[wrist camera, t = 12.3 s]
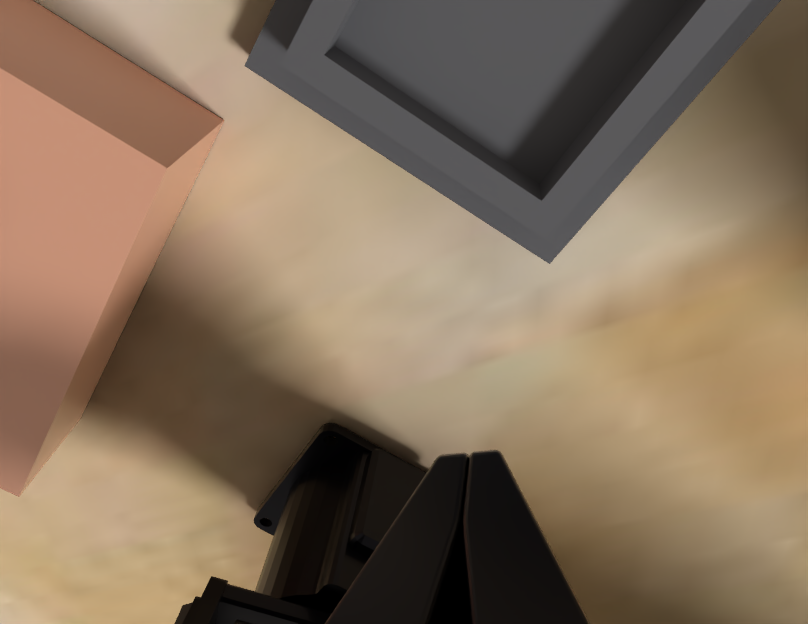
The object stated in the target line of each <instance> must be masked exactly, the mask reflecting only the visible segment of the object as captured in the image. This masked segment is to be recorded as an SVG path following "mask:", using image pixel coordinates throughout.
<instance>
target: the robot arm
mask: <svg viewBox="0 0 808 624" xmlns="http://www.w3.org/2000/svg"><path fill="white" fill-rule="evenodd" d="M328 436H334V437H335V438H336V439H332V438H329V437H328ZM254 523H255V525H256V526H257V527H258V528H260V529H261V530H263V531H265V532H267V533H269V534H271V535H273V536H274V537H273V540H272V543H271V546H270V549H269V552H268V555H267V558H266V560H265V563H264V566H263V569H262V572H261V575H260V578H259V581H258V584H257V587H256V590H255V592H254V591H251V590H247V589H244V588H240V587H237V586H233V585H230V584H227V583H228V581H227V580H223V579H220V578H216V577H212V576H211V578H210V580H209V582H208V584H207V586H206V588H205V590H204V592H203V594H202V597H197V596H196V597H195V599H194V601H193V603H189V604H186V605H183V606H182V608H181V610H180V613H179V615H178V617H177V620H176V622H175V624H590V623H589V621H588V619H587V617H586V615H585V613H584V611H583V609H582V608H581V606H580V604H579V602H578V600H577V598H576V596H575V594H574V592H573V590H572V588H571V586H570V584H569V582H568V580H567V579H566V577H565V575H564V573H563V571H562V569H561V567H560V565H559V563H558V561H557V559H556V557H555V555H554V553H553V552H552V550H551V548H550V546H549V544H548V542H547V540H546V538H545V536H544V534H543V532H542V530H541V528H540V526H539V524H538V523H537V521H536V519H535V517H534V515H533V513H532V511H531V509H530V507H529V505H528V503H527V501H526V499H525V497H524V496H523V494H522V492H521V490H520V488H519V486H518V484H517V482H516V480H515V478H514V476H513V474H512V472H511V470H510V469H509V467H508V465H507V463H506V461H505V459H504V457H503V455H502V453H501V452H500V451H498V450H490V451H479V452H473V453H472V454H471V455H470V457H469V455H468V454H466V453H456V454H445V455H440V456H439V457H437V459H436V460H435V461H434V463H433V464H432V466H431V467H430V469H429V470H428V472H427V473H426V472H424V471H422V470H420V469H418V468H417V467H415V466H413V465H411V464H409V463H407V462H406V461H404V460H402V459H400V458H398V457H397V456H395V455H393V454H391V453H389V452H387V451H386V450H384V449H382V448H380V447H378V446H376V445H375V444H373V443H371V442H369V441H367V440H366V439H364V438H362V437H360V436H358V435H356V434H355V433H353V432H351V431H349V430H347V429H345V428H344V427H342V426H340V425H337V424H334V423H329V424H325V425H324V426H322V427H321V428H320V430H319V431H318V432H317V434H316V435H315V436H314V437H313V439H312V440H311V441H310V443H309V444H308V445H307V446H306V448H305V449H304V450H303V452H302V453H301V454H300V455H299V457H298V458H297V459H296V461H295V462H294V463H293V464H292V466H291V467H290V468H289V470H288V471H287V472H286V473H285V475H284V476H283V477H282V479H281V480H280V481H279V483H278V484H277V485H276V486H275V488H274V489H273V490H272V492H271V493H270V494H269V495H268V497H267V498H266V499H265V501H264V502H263V503H262V504H261V506H260V507H259V508H258V510H257V512H256V515H255V518H254Z"/></svg>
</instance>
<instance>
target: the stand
mask: <svg viewBox="0 0 808 624" xmlns="http://www.w3.org/2000/svg"><path fill="white" fill-rule="evenodd" d="M780 1H781V0H276V1H275V3H274V5H273V7H272V9H271V11H270V13H269V15H268V18H267V20H266V22H265V24H264V26H263V28H262V30H261V32H260V34H259V36H258V39H257V41H256V43H255V45H254V47H253V49H252V51H251V53H250V55H249V57H248V59H247V62H246V64H245V66H246V67H247V68H249V69H250V70H252V71H253V72H255V73H256V74H258V75H259V76H261V77H263V78H264V79H266V80H267V81H269V82H270V83H272V84H273V85H275V86H276V87H278V88H279V89H281V90H283V91H284V92H286V93H287V94H289V95H290V96H292V97H293V98H295V99H296V100H298V101H299V102H301V103H303V104H304V105H306V106H307V107H309V108H310V109H312V110H313V111H315V112H316V113H318V114H319V115H321V116H323V117H324V118H326V119H327V120H329V121H330V122H332V123H333V124H335V125H336V126H338V127H340V128H341V129H343V130H344V131H346V132H347V133H349V134H350V135H352V136H353V137H355V138H356V139H358V140H360V141H361V142H363V143H364V144H366V145H367V146H369V147H370V148H372V149H373V150H375V151H376V152H378V153H380V154H381V155H383V156H384V157H386V158H387V159H389V160H390V161H392V162H393V163H395V164H396V165H398V166H400V167H401V168H403V169H404V170H406V171H407V172H409V173H410V174H412V175H413V176H415V177H417V178H418V179H420V180H421V181H423V182H424V183H426V184H427V185H429V186H430V187H432V188H433V189H435V190H437V191H438V192H440V193H441V194H443V195H444V196H446V197H447V198H449V199H450V200H452V201H453V202H455V203H457V204H458V205H460V206H461V207H463V208H464V209H466V210H467V211H469V212H470V213H472V214H474V215H475V216H477V217H478V218H480V219H481V220H483V221H484V222H486V223H487V224H489V225H490V226H492V227H494V228H495V229H497V230H498V231H500V232H501V233H503V234H504V235H506V236H507V237H509V238H510V239H512V240H514V241H515V242H517V243H518V244H520V245H521V246H523V247H524V248H526V249H527V250H529V251H530V252H532V253H534V254H535V255H537V256H538V257H540V258H541V259H543V260H544V261H546V262H547V263H549V264H550V263H551V262H552V261H553V259H554V258H555V257H556V256H557V255H558V254H559V253H560V251H561V250H562V249H563V248H564V247H565V246H566V245H567V243H568V242H569V241H570V240H571V239H572V238H573V237H574V236H575V234H576V233H577V232H578V231H579V230H580V229H581V228H582V226H583V225H584V224H585V223H586V222H587V221H588V220H589V218H590V217H591V216H592V215H593V214H594V213H595V212H596V210H597V209H598V208H599V207H600V206H601V205H602V204H603V202H604V201H605V200H606V199H607V198H608V197H609V196H610V194H611V193H612V192H613V191H614V190H615V189H616V188H617V187H618V185H619V184H620V183H621V182H622V181H623V180H624V179H625V177H626V176H627V175H628V174H629V173H630V172H631V171H632V169H633V168H634V167H635V166H636V165H637V164H638V163H639V161H640V160H641V159H642V158H643V157H644V156H645V155H646V153H647V152H648V151H649V150H650V149H651V148H652V147H653V146H654V144H655V143H656V142H657V141H658V140H659V139H660V138H661V136H662V135H663V134H664V133H665V132H666V131H667V130H668V128H669V127H670V126H671V125H672V124H673V123H674V122H675V120H676V119H677V118H678V117H679V116H680V115H681V114H682V112H683V111H684V110H685V109H686V108H687V107H688V106H689V104H690V103H691V102H692V101H693V100H694V99H695V98H696V97H697V95H698V94H699V93H700V92H701V91H702V90H703V89H704V87H705V86H706V85H707V84H708V83H709V82H710V81H711V79H712V78H713V77H714V76H715V75H716V74H717V73H718V71H719V70H720V69H721V68H722V67H723V66H724V65H725V63H726V62H727V61H728V60H729V59H730V58H731V57H732V56H733V54H734V53H735V52H736V51H737V50H738V49H739V48H740V46H741V45H742V44H743V43H744V42H745V41H746V40H747V38H748V37H749V36H750V35H751V34H752V33H753V32H754V30H755V29H756V28H757V27H758V26H759V25H760V24H761V22H762V21H763V20H764V19H765V18H766V17H767V16H768V15H769V13H770V12H771V11H772V10H773V9H774V8H775V7H776V5H777V4H778V3H779V2H780Z"/></svg>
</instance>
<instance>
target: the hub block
mask: <svg viewBox="0 0 808 624" xmlns="http://www.w3.org/2000/svg"><path fill="white" fill-rule="evenodd" d="M223 122H224V120H223V119H221V118H220V117H218V116H216V115H215V114H213V113H212V112H210V111H208V110H207V109H205V108H204V107H202V106H200V105H199V104H197V103H196V102H194V101H192V100H191V99H189V98H188V97H186V96H184V95H183V94H181V93H180V92H178V91H176V90H175V89H173V88H172V87H170V86H168V85H167V84H165V83H164V82H162V81H161V80H159V79H157V78H156V77H154V76H153V75H151V74H149V73H148V72H146V71H145V70H143V69H141V68H140V67H138V66H137V65H135V64H133V63H132V62H130V61H129V60H127V59H125V58H124V57H122V56H121V55H119V54H117V53H116V52H114V51H113V50H111V49H110V48H108V47H106V46H105V45H103V44H102V43H100V42H98V41H97V40H95V39H94V38H92V37H90V36H89V35H87V34H86V33H84V32H82V31H81V30H79V29H78V28H76V27H74V26H73V25H71V24H70V23H68V22H66V21H65V20H63V19H62V18H60V17H58V16H57V15H55V14H54V13H52V12H51V11H49V10H47V9H46V8H44V7H43V6H41V5H39V4H38V3H36V2H35V1H33V0H0V488H1V489H3V490H6V491H8V492H10V493H12V494H14V495H16V496H18V497H19V496H20V495H21V494H22V492H23V491H24V490H25V489H26V487H27V486H28V485H29V484H30V482H31V481H32V480H33V479H34V477H35V476H36V475H37V473H38V472H39V471H40V470H41V468H42V467H43V466H44V465H45V463H46V462H47V461H48V459H49V458H50V457H51V456H52V454H53V453H54V452H55V451H56V449H57V448H58V447H59V446H60V444H61V443H62V442H63V440H64V439H65V438H66V437H67V435H68V434H69V433H70V432H71V430H72V429H73V428H74V427H75V425H76V424H77V423H78V421H79V420H80V419H81V416H82V414H83V412H84V410H85V408H86V406H87V404H88V402H89V400H90V398H91V396H92V394H93V392H94V389H95V387H96V385H97V383H98V381H99V379H100V377H101V375H102V373H103V371H104V369H105V367H106V365H107V363H108V360H109V358H110V356H111V354H112V352H113V350H114V348H115V346H116V344H117V342H118V340H119V338H120V336H121V334H122V331H123V329H124V327H125V325H126V323H127V321H128V319H129V317H130V315H131V313H132V311H133V309H134V307H135V304H136V302H137V300H138V298H139V296H140V294H141V292H142V290H143V288H144V286H145V284H146V282H147V280H148V278H149V275H150V273H151V271H152V269H153V267H154V265H155V263H156V261H157V259H158V257H159V255H160V253H161V251H162V248H163V246H164V244H165V242H166V240H167V238H168V236H169V234H170V232H171V230H172V228H173V226H174V224H175V222H176V219H177V217H178V215H179V213H180V211H181V209H182V207H183V205H184V203H185V201H186V199H187V197H188V195H189V192H190V190H191V188H192V186H193V184H194V182H195V180H196V178H197V176H198V174H199V172H200V170H201V168H202V166H203V163H204V161H205V159H206V157H207V155H208V153H209V151H210V149H211V147H212V145H213V143H214V141H215V139H216V137H217V134H218V132H219V130H220V128H221V126H222V124H223Z"/></svg>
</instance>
